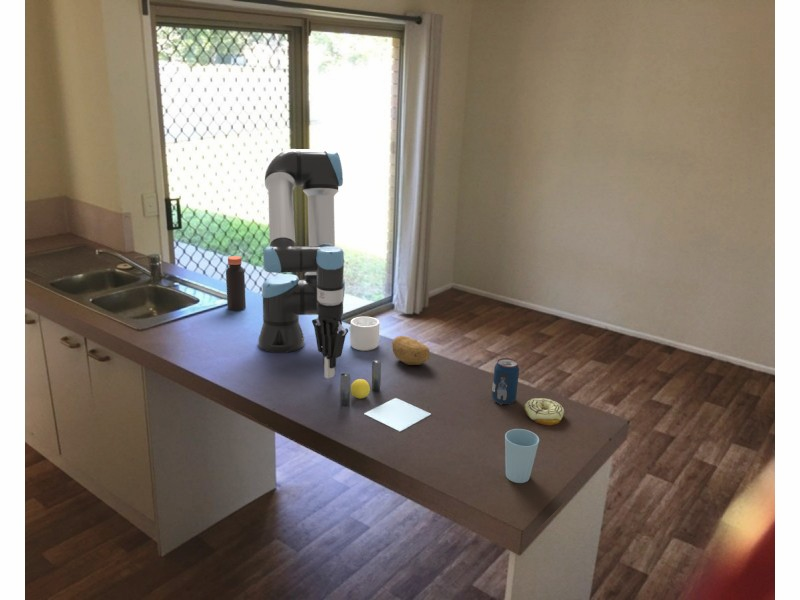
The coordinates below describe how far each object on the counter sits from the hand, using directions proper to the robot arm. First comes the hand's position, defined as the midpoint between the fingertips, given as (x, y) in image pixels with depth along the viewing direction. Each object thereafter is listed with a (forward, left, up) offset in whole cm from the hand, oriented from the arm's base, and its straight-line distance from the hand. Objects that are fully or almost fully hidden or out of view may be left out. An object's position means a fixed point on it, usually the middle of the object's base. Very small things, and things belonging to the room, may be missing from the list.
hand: (329, 376), depth 193 cm
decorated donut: (+56, +28, -2) cm, 63 cm away
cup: (+66, -2, -2) cm, 66 cm away
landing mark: (+27, 0, -2) cm, 27 cm away
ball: (+13, 0, +1) cm, 13 cm away
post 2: (+13, +6, -2) cm, 15 cm away
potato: (+8, +28, -2) cm, 29 cm away
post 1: (+13, -6, -2) cm, 15 cm away
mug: (-12, +28, -2) cm, 31 cm away
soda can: (+43, +28, -2) cm, 51 cm away
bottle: (-71, +18, -2) cm, 73 cm away
